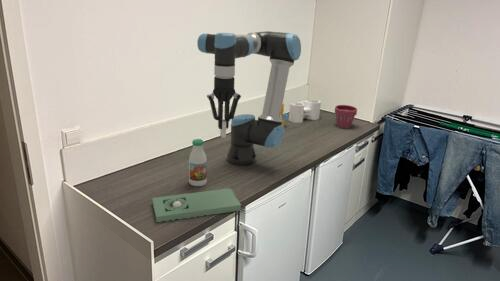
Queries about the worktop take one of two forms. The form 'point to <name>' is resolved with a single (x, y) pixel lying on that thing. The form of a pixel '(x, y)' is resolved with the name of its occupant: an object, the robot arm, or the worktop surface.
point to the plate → (195, 204)
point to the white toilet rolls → (304, 111)
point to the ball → (176, 204)
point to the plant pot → (345, 115)
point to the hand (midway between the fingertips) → (223, 136)
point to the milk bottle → (197, 164)
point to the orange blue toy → (283, 115)
